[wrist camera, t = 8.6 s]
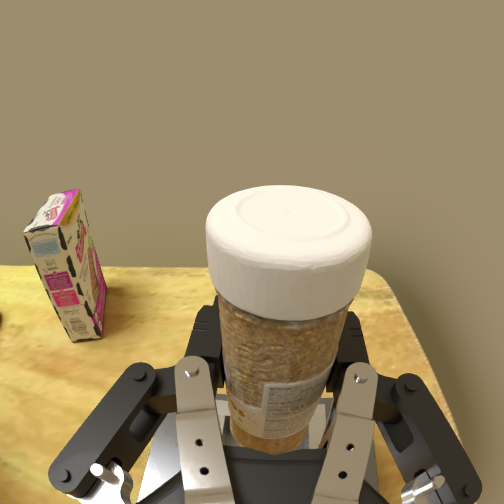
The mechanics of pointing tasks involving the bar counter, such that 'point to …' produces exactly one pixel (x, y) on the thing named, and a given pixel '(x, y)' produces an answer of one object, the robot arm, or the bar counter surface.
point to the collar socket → (167, 451)
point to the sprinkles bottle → (282, 303)
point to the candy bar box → (68, 264)
